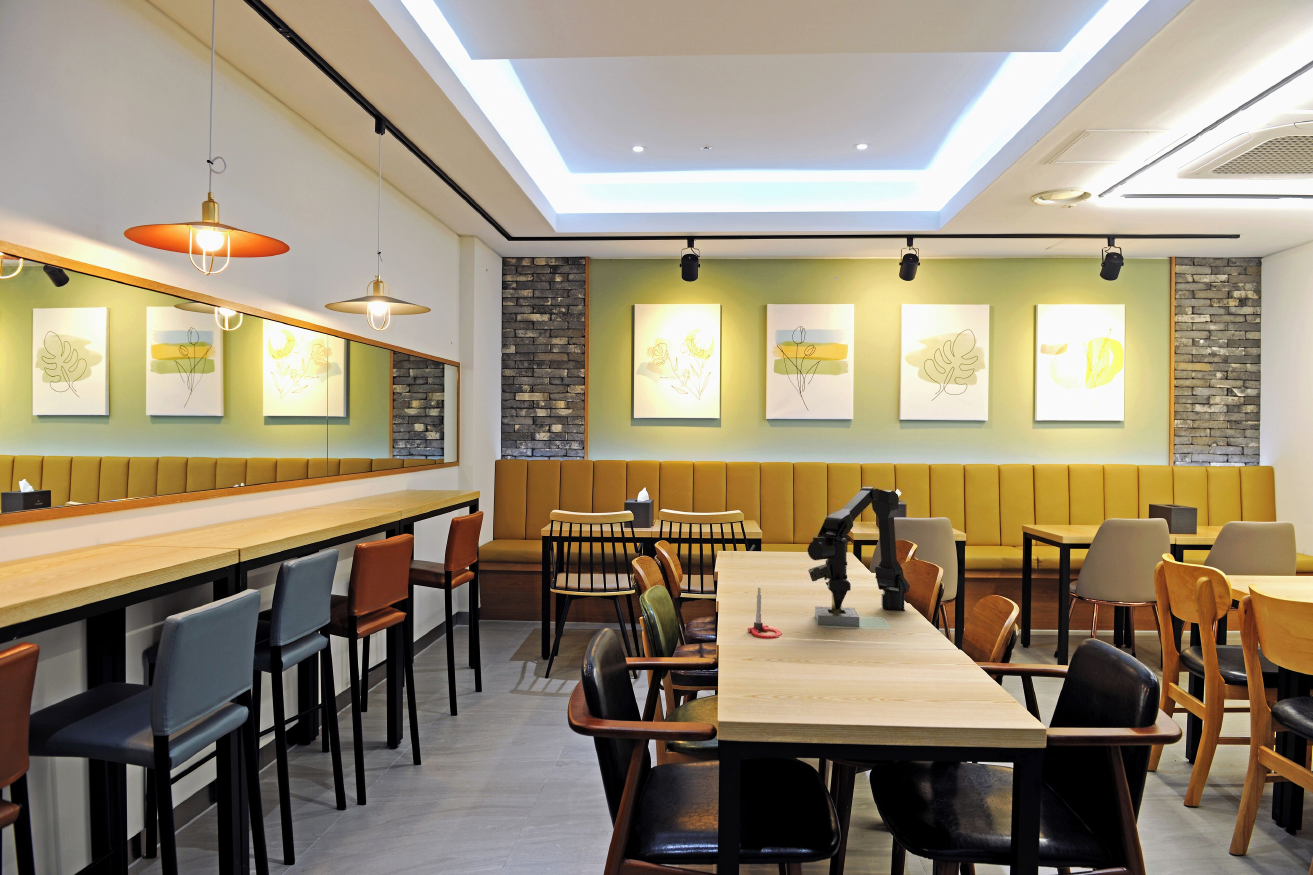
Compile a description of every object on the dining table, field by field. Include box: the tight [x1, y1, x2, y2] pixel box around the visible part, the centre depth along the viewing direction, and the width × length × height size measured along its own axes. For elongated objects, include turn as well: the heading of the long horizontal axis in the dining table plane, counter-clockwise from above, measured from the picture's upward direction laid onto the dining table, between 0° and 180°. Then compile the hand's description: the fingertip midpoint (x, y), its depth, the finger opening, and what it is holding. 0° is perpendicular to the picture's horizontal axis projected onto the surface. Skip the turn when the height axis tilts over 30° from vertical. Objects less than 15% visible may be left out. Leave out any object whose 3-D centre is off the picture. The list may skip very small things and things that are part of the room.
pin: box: [831, 593, 843, 614], centre depth 224 cm, size 3×3×10 cm
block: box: [814, 606, 860, 627], centre depth 224 cm, size 12×12×3 cm
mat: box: [815, 616, 892, 631], centre depth 223 cm, size 21×15×1 cm
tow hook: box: [747, 587, 783, 640], centre depth 210 cm, size 8×13×9 cm
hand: (836, 608), depth 224 cm, fingers closed on pin, 3 cm apart
